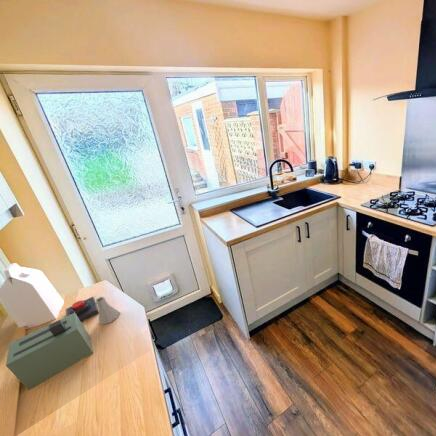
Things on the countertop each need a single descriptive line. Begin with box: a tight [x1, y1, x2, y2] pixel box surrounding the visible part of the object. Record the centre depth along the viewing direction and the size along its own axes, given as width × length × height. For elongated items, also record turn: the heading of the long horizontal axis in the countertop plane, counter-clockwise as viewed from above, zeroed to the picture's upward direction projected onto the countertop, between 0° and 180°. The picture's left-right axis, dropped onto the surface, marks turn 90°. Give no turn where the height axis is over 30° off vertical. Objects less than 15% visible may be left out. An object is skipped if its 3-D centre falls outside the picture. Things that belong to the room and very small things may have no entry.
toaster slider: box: [48, 319, 66, 337], centre depth 81 cm, size 2×3×4 cm
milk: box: [0, 262, 65, 330], centre depth 102 cm, size 12×12×26 cm
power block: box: [65, 296, 99, 323], centre depth 105 cm, size 12×10×4 cm
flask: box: [95, 296, 121, 325], centre depth 100 cm, size 7×7×10 cm
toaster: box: [5, 313, 94, 391], centre depth 83 cm, size 11×17×12 cm, turn 133°
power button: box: [71, 299, 85, 310], centre depth 104 cm, size 4×4×2 cm
